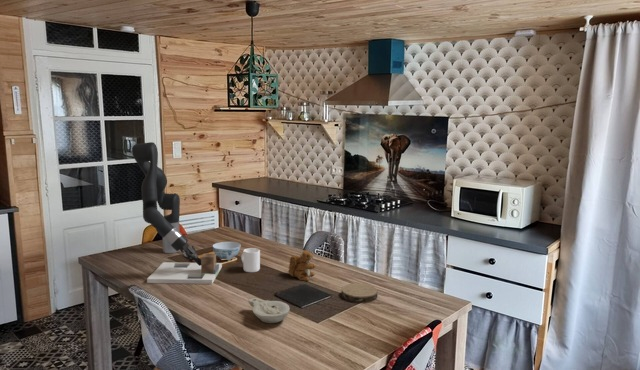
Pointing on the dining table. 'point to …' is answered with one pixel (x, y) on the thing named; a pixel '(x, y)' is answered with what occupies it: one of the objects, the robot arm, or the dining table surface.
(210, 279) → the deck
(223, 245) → the chinaware
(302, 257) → the stuffed squirrel
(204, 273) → the pad
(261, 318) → the oil lamp
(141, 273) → the dining table surface
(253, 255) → the mug
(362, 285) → the wood slice
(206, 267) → the block
